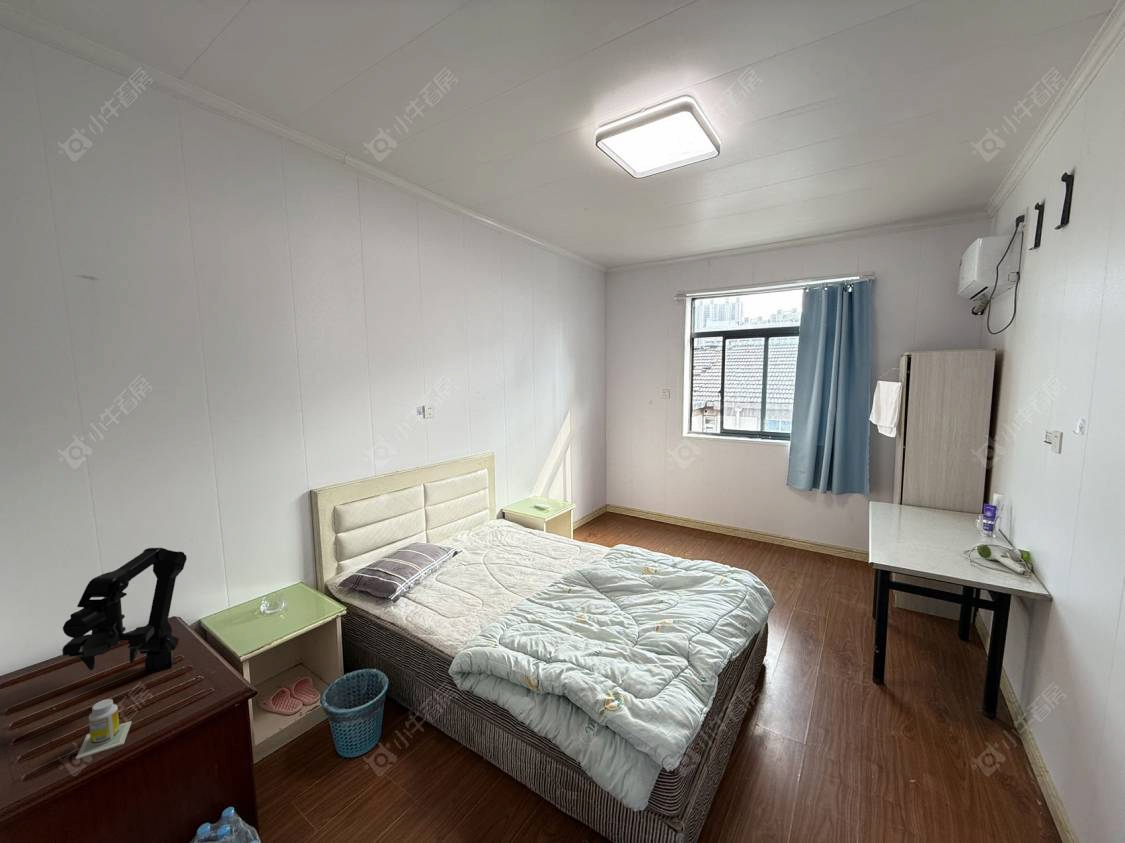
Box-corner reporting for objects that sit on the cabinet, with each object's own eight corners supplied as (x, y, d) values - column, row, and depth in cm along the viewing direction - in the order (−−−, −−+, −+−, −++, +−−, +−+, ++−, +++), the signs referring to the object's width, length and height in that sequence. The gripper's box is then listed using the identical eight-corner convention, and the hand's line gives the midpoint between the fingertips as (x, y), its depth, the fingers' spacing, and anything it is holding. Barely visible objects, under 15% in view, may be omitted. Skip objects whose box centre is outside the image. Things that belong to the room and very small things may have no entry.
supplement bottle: (113, 726, 125) (110, 694, 124) (124, 733, 123) (121, 700, 121) (86, 741, 120) (83, 707, 118) (96, 749, 117) (93, 714, 116)
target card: (131, 722, 127) (131, 720, 127) (123, 744, 120) (123, 742, 120) (87, 735, 122) (87, 734, 122) (75, 759, 115) (75, 758, 115)
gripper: (46, 639, 119) (51, 691, 121) (134, 626, 126) (138, 676, 128) (72, 617, 129) (77, 666, 131) (153, 607, 136) (156, 653, 138)
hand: (112, 665), depth 132 cm, fingers open, 9 cm apart
